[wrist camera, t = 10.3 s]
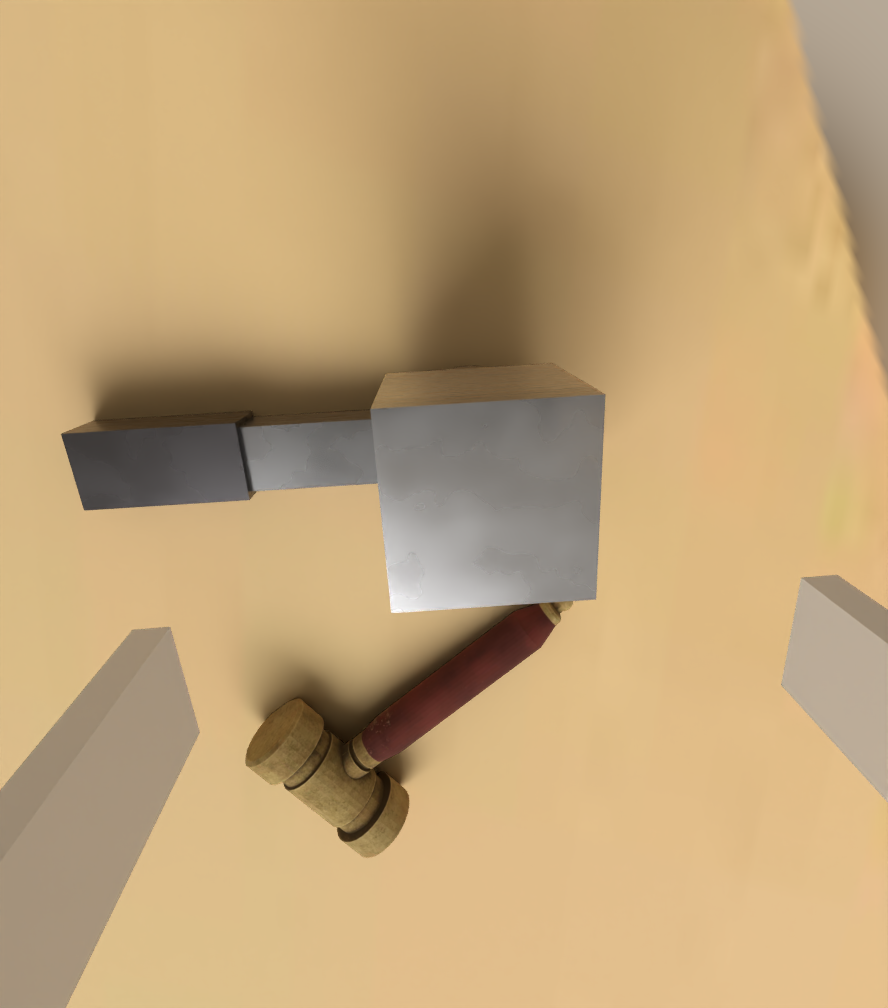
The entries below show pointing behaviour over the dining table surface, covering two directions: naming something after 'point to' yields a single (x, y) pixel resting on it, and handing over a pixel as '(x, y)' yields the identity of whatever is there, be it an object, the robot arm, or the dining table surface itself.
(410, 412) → the brushed metal cube
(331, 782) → the gavel
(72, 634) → the dining table surface
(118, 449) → the ratchet
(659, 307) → the dining table surface
